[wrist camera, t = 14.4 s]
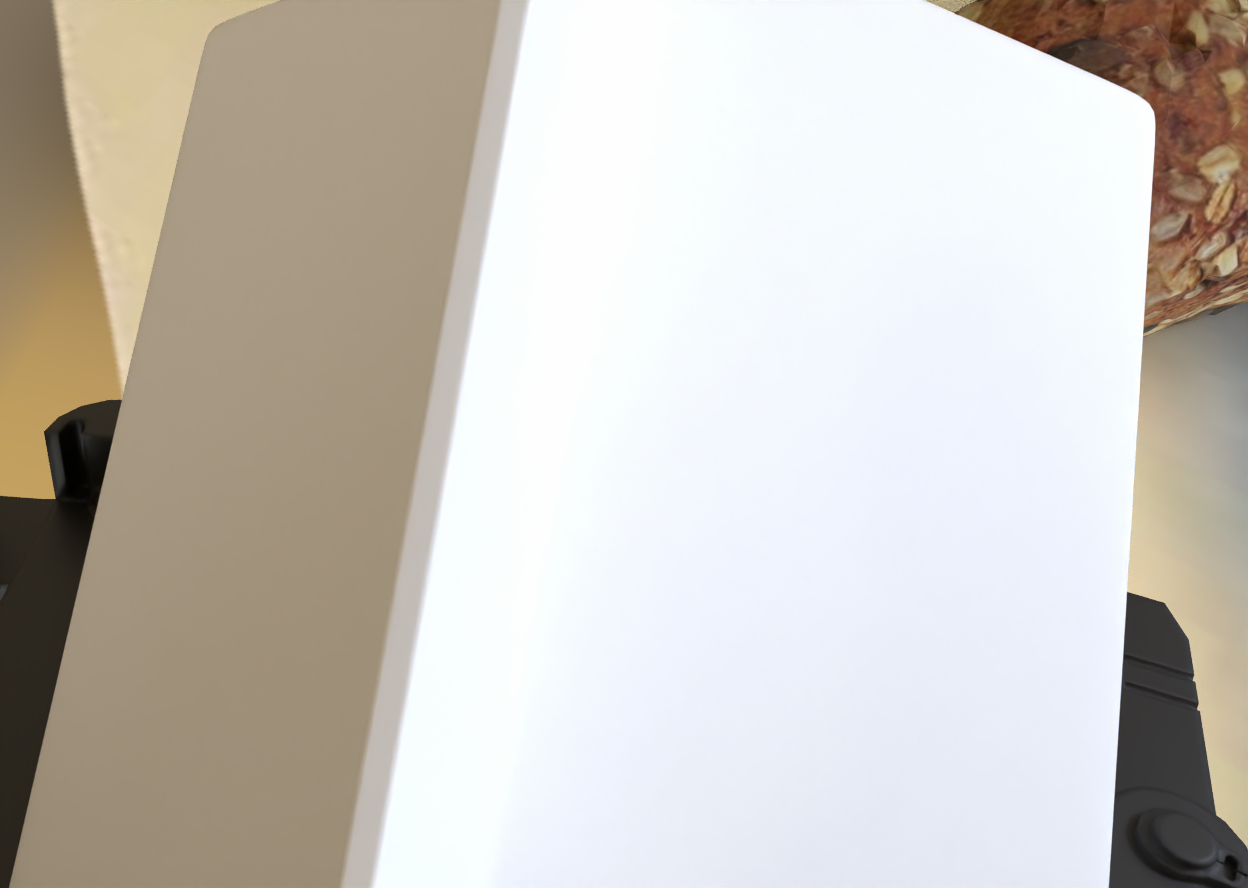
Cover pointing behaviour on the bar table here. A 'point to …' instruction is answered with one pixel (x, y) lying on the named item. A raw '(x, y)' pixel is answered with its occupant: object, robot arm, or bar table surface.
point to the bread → (1167, 128)
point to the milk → (616, 461)
